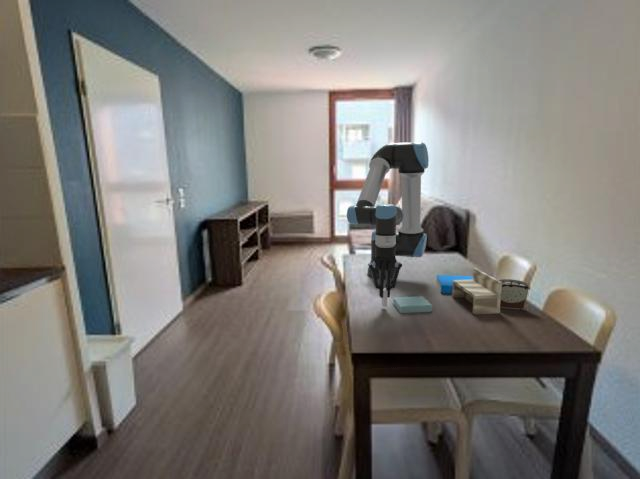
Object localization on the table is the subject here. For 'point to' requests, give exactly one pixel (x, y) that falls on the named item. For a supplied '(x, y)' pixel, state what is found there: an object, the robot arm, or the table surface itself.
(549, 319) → the table surface
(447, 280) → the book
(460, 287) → the shelf
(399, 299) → the teal square tile
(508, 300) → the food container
